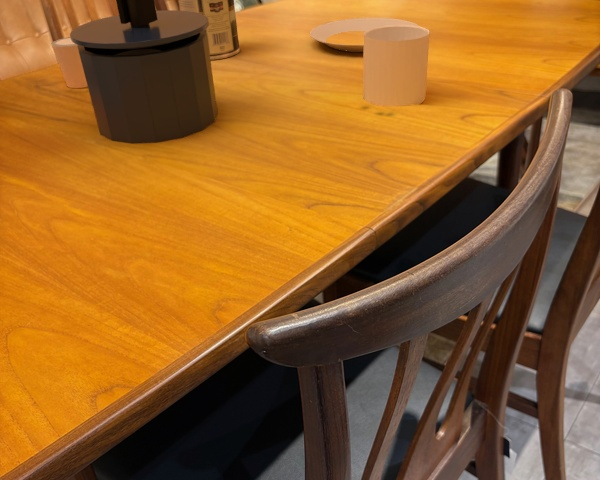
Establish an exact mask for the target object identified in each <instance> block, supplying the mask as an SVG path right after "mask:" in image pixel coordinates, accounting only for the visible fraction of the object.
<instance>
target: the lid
mask: <svg viewBox="0 0 600 480" xmlns="http://www.w3.org/2000/svg"><path fill="white" fill-rule="evenodd" d="M125 1H126V6H127V10H128V15H129V20H130V22H129V23H127V24H121V21H120V17H119V14H116V15H111V16H107V17H102V18H98V19H94V20H91V21H88V22H85V23H83V24H80V25H79V26H76V27H74V28H73V29H72V30H71V31H70V33H69V37H70V38H71V40H72V42H73V43H75V44H77V45H80V46H84V47H90V48H103V49H137V48H146V47H153V46H159V45H164V44H168V43H172V42H176V41H179V40H182V39H185V38H188V37H191V36H194V35H196V34H198V33H200V32H202V31H204V30H205V29H207V27H208V26H209V20H208V18H207V16H205V15H203V14H200V13H196V12H190V11H180V10H174V9H173V10H167V9H166V10H156V14H157V19H158V20H156V21H154V22H151V23H149V24H146V25H141V24H140V19H139V14H138V9H137V4H136V0H125Z"/></svg>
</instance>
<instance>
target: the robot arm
mask: <svg viewBox="0 0 600 480" xmlns="http://www.w3.org/2000/svg"><path fill="white" fill-rule="evenodd" d="M115 2H116V7H117V12H118V15H119V17H120V21H121V24H127V23H129V22H130V20H129V15H128V10H127V6H126V1H125V0H115ZM136 4H137V9H138V14H139V19H140V24H141V25H146V24H149V23H151V22H154V21H156V20H158V19H157V14H156V11H157V9H156V3H155V0H136Z"/></svg>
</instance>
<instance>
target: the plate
mask: <svg viewBox="0 0 600 480" xmlns="http://www.w3.org/2000/svg"><path fill="white" fill-rule="evenodd" d="M386 25H414V26H420V25H419V24H417V23H415V22H414V21H413V22H412V21H409V20H405V19H400V18H392V17H356V18H346V19H340V20H334V21H330V22H325V23H322V24H320V25H317V26H315V27H314V28H312V29H311V30H310V32H309V36H310V38H312V39H313V40H314V41H317V42H319V43H322V44H324V45H326V46H328V47H330V48H332V47H333V48H332V49H334V50H338V51H343V52H350V53H351V52H352V53H363V52H364V45H345V44H334V43H328V42H326V39H327V38H328V37H330V36H332V35H334V34H338V33H341V32H348V31H366V30H368V29H371V28H374V27H379V26H386ZM339 49H340V50H339ZM345 50H347V51H345Z"/></svg>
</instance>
